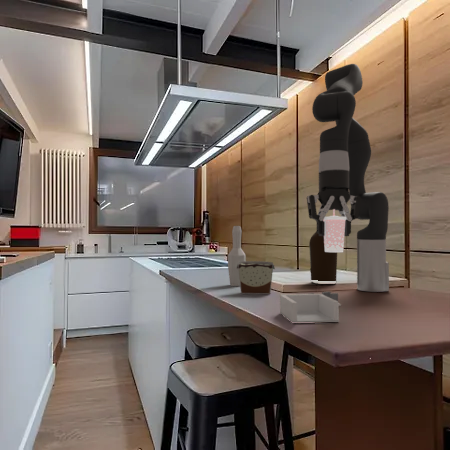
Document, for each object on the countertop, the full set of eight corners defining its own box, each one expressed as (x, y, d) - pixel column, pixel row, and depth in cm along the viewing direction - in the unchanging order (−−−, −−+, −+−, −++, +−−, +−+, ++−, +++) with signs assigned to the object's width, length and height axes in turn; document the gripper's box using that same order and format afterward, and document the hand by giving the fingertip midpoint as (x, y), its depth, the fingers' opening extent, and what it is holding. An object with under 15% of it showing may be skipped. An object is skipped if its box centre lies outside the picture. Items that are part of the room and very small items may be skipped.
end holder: (321, 312, 92) (321, 293, 92) (338, 322, 81) (338, 301, 81) (280, 313, 91) (280, 294, 91) (292, 324, 80) (292, 302, 80)
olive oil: (342, 283, 144) (341, 218, 145) (331, 286, 136) (330, 217, 136) (316, 280, 151) (316, 219, 151) (304, 283, 142) (304, 218, 143)
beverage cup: (351, 252, 93) (351, 196, 93) (330, 252, 91) (330, 195, 92) (337, 251, 99) (337, 198, 99) (316, 251, 97) (317, 197, 97)
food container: (274, 291, 125) (274, 261, 125) (275, 294, 119) (274, 262, 119) (237, 290, 126) (237, 260, 126) (236, 293, 120) (236, 262, 120)
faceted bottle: (234, 283, 142) (234, 226, 142) (248, 285, 138) (248, 225, 139) (224, 285, 137) (224, 225, 137) (239, 287, 133) (239, 225, 134)
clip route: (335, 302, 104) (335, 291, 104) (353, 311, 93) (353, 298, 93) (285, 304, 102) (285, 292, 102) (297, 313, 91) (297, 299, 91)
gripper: (353, 173, 100) (353, 236, 100) (301, 172, 98) (301, 235, 98) (367, 169, 93) (367, 236, 92) (312, 167, 91) (312, 236, 91)
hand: (333, 235), depth 95 cm, fingers closed on beverage cup, 6 cm apart
